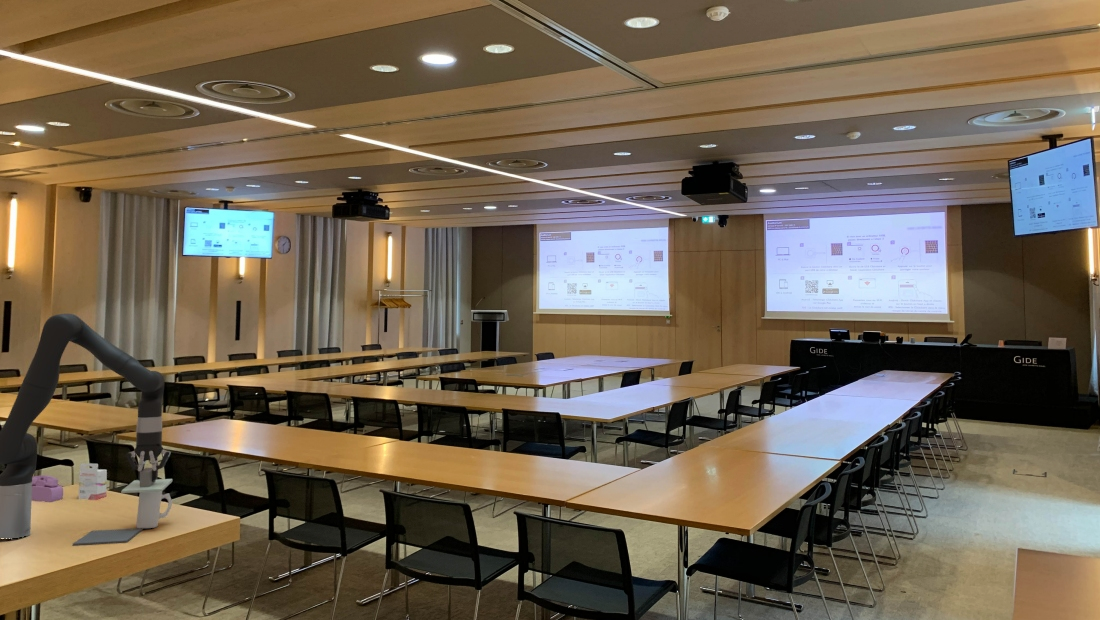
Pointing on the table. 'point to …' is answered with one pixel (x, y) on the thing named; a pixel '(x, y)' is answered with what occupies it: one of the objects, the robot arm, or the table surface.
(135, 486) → the cover plate
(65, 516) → the table surface
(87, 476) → the ink cartridge box
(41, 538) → the table surface
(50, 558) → the table surface
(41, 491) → the toy telephone
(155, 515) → the mug
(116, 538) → the rubber mat
